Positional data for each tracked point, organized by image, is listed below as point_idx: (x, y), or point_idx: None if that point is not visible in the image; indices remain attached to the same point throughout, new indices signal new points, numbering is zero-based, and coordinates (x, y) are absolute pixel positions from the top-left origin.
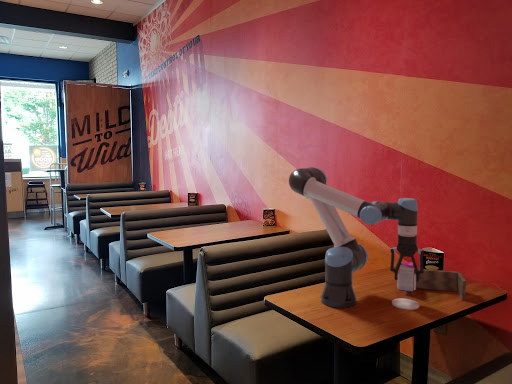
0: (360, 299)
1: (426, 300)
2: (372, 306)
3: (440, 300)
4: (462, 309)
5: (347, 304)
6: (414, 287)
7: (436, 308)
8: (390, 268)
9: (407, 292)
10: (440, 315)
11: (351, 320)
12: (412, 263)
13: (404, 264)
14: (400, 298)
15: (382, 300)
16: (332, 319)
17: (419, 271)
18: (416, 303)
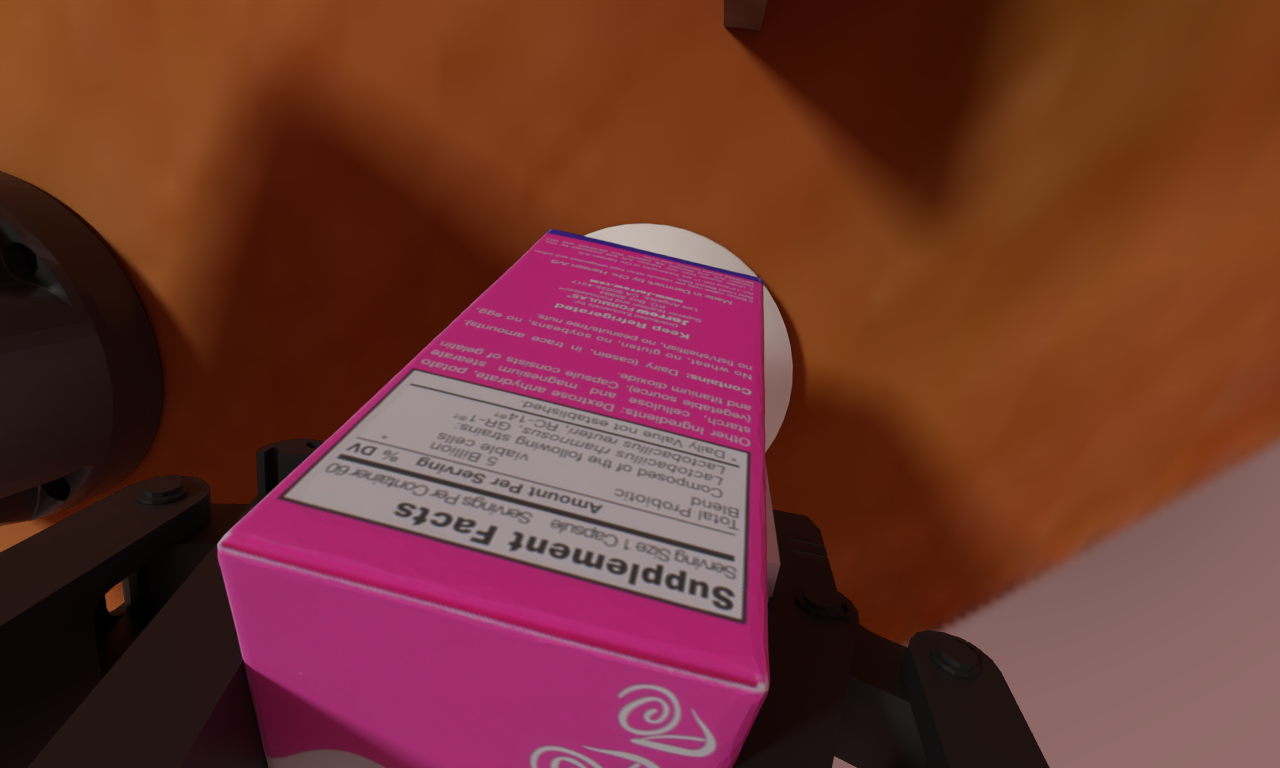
0: (192, 258)
1: (947, 193)
2: (317, 437)
3: (1149, 168)
4: (1271, 446)
5: (82, 501)
6: None
7: (962, 439)
8: (109, 632)
9: (746, 18)
10: (922, 603)
11: None
12: (689, 753)
13: (392, 759)
14: (612, 231)
15: (415, 261)
16: None
17: (850, 753)
18: (765, 376)
